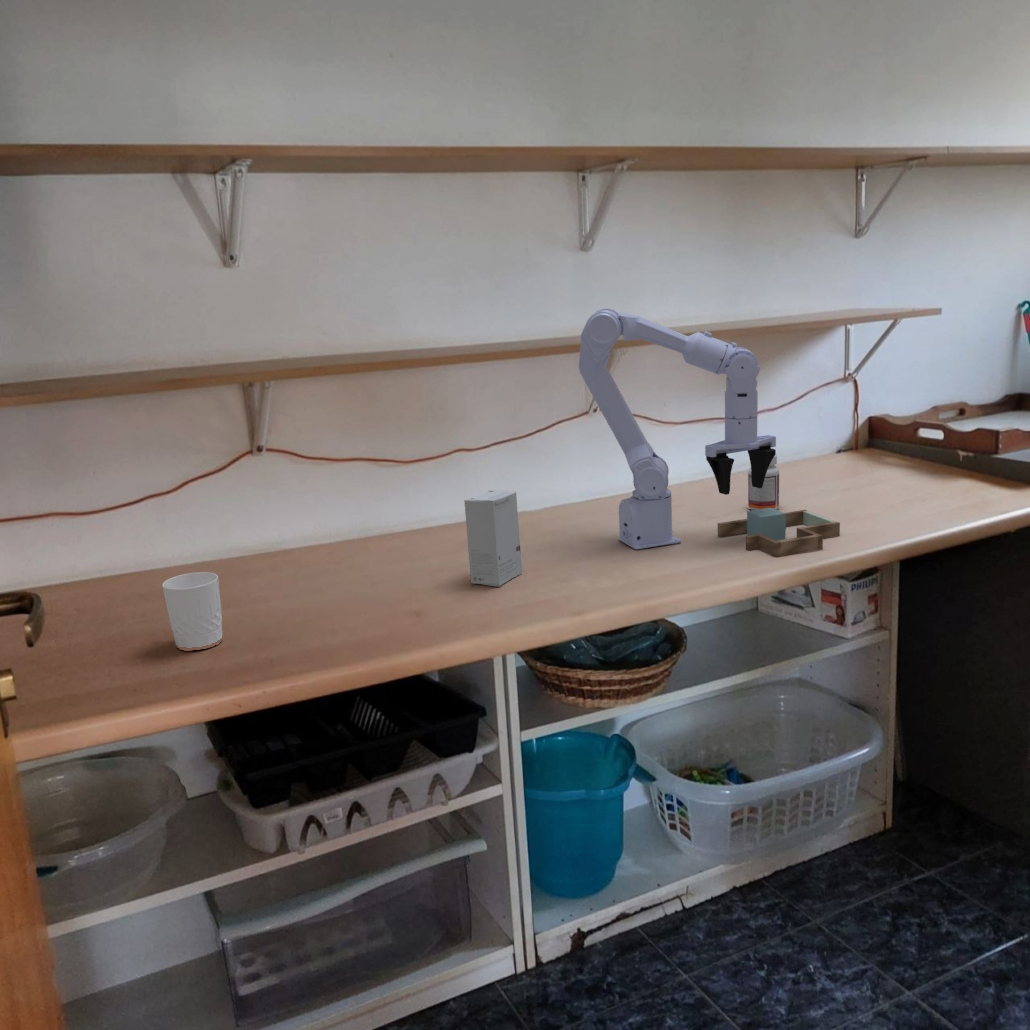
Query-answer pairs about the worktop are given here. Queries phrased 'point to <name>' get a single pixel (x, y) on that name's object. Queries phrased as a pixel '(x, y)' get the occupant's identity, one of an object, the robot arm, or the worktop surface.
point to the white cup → (194, 608)
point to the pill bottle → (765, 489)
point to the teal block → (767, 523)
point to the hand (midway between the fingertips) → (740, 490)
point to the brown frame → (805, 541)
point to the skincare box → (493, 537)
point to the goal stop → (814, 519)
